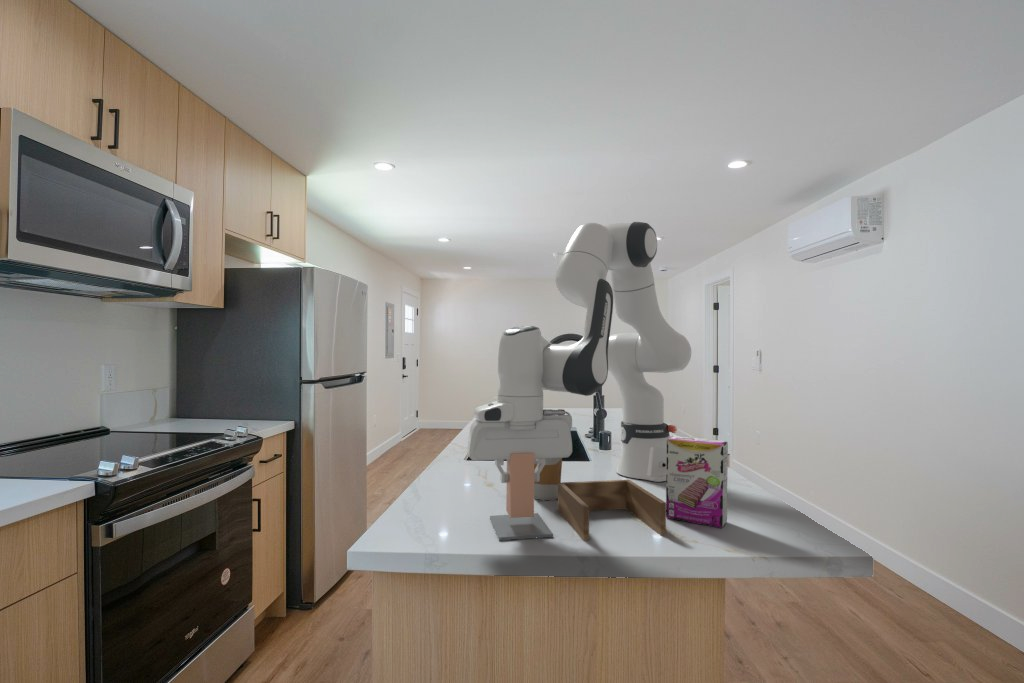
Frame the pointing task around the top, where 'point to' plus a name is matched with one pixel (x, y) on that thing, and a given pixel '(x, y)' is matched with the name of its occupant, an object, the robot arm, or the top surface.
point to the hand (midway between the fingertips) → (519, 481)
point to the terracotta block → (520, 485)
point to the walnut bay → (608, 503)
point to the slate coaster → (520, 527)
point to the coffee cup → (548, 479)
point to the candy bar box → (697, 480)
